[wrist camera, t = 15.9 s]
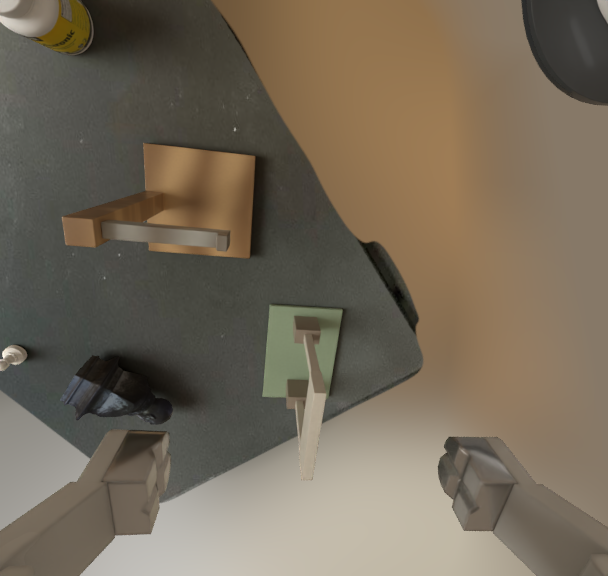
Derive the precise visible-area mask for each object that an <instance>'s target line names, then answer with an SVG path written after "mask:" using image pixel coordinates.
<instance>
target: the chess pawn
mask: <svg viewBox="0 0 608 576" xmlns="http://www.w3.org/2000/svg"><path fill="white" fill-rule="evenodd" d="M2 356H3V359H1V360H0V371H3V370H5V369H6V368H7V367H9V364H20V363H22V362H23V361H24V360H25V359H26V358H27V352H26V351H25V350H24V349H23V348H22V347H20V346H17V345H11V346H9V347H7V348H6V349H5V350H4V351H3V353H2Z"/></svg>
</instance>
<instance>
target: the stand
mask: <svg viewBox="0 0 608 576" xmlns="http://www.w3.org/2000/svg"><path fill="white" fill-rule="evenodd" d="M143 147H144V165H145V184H146V191H144V192H141V193H138V194H134V195H131V196H128V197H125V198H121V199H118V200H115V201H112V202H108V203H105V204H102V205H99V206H95V207H92V208H89V209H86V210H82V211H79V212H76V213H73V214H69V215H66V216H63V217H62V220H63V228H64V235H65V242H66V245H72V246H84V247H98V246H99V245H101V244H103V243H105V242H107V241H109V240H110V239H114V240H126V241H138V242H149V251H161V252H173V253H186V254H199V255H211V256H224V257H236V258H250V251H251V233H252V215H253V197H254V179H255V161H256V156H252V155H244V154H235V153H226V152H218V151H209V150H201V149H192V148H183V147H175V146H166V145H157V144H149V143H143ZM145 220H147V221H148V223H142V222H144V221H145Z"/></svg>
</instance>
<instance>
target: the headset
mask: <svg viewBox="0 0 608 576" xmlns="http://www.w3.org/2000/svg"><path fill="white" fill-rule="evenodd" d="M320 334H321V330H320V326H319V323H318V319H317V317H306V316H294V320H293V336H294V343H299V344H304V346H305V352H306V358H307V363H308V369H309V375H310V376H309V381H308V380H292V379H287V383H286V403H287V409H296V420H297V430H298V440H299V461H300V471H301V480H312V479H313V472H314V466H315V460H316V454H317V448H318V442H319V436H320V430H321V424H322V418H323V411H324V405H325V399H326V390H325V385H324V381H323V377H322V372H320V368H319V364H318V359H317V355H316V351H315V346H314V344H318V345H319V341H320ZM304 409H305V412H304Z"/></svg>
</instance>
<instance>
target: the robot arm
mask: <svg viewBox="0 0 608 576" xmlns="http://www.w3.org/2000/svg"><path fill="white" fill-rule="evenodd" d="M597 3H598V6H599V9H600V11H601V13H602V15H603V17H604V19H605V20H606V22H607V23H608V0H597ZM169 443H170V437H169V432H167V431H145V430H114V429H111V430H110V431H109V432H108V433H107V434H106V435H105V436H104V438H103V440H102V441H101V443H100V445H99V446H98V448H97V450H96V451H95V453H94V454H93V456H92V458H91V459H90V461H89V463H88V464H87V466H86V468H85V469H84V471H83V472H82V474H81V476H80V477H79V479H78V481H77V482H70V483H69V484H67V485H66V486H64V487H63V488H61V489H60V490H58V491H57V492H55V493H54V494H53V495H51V496H50V497H48V498H47V499H45V500H44V501H43V502H41V503H40V504H38V505H37V506H35V507H34V508H33V509H31V510H30V511H28V512H27V513H25V514H24V515H22V516H21V517H20V518H18V519H17V520H15V521H14V522H12V523H11V524H9V525H8V526H7V527H5V528H4V529H2V530H1V531H0V576H79V575H80V574H81V573H82V572H83V571H84V570H85V569H86V568H87V567H88V566H89V565H90V564H91V563H92V562H93V561H94V559H95V558H96V557H97V556H98V555H99V554H100V553H101V552H102V551H103V550H104V549H105V548H106V547H107V546H108V544H109V543H110V542H111V541H112V540H113V539H114V538H115V535H137V534H151V532H152V529H153V526H154V523H155V520H156V517H157V514H158V511H159V497H160V496H161V495H162V494H163V493H164V492H165V490H166V487H167V483H168V479H169V474H170V467H171V454H170V453H169V452H168V451H167V449H168V446H169ZM444 448H445V450H446V451H447V453H446V454H444V455H443V456H442V457H441V458H440V461H439V465H438V475H439V480H440V483H441V485H442V488H443V490H444V492H445V493H446V494H447V495H449V496H450V497H451V498H452V499H453V505H452V508H453V510H454V512H455V514H456V516H457V518H458V520H459V522H460V524H461V526H462V528H463V530H464V531H493V534H495V536H497V537H498V538H499V539H500V540H501V541H502V542H503V543H504V544H505V545H506V546H507V547H508V548H509V549H510V550H511V551H512V552H513V553H514V554H515V555H516V556H517V557H518V558H519V559H520V560H521V561H522V562H523V563H524V564H525V565H526V566H527V567H528V568H529V569H530V570H531V571H532V572H533V573H534V574H535V575H536V576H608V527H606V526H605V525H603V524H602V523H600V522H599V521H597V520H595V519H594V518H593V517H591V516H590V515H588V514H587V513H585V512H583V511H582V510H580V509H579V508H577V507H576V506H574V505H573V504H571V503H570V502H568V501H567V500H565V499H564V498H562V497H561V496H559V495H558V494H556V493H555V492H553V491H551V490H550V489H548V488H547V487H545V486H544V485H542V484H536V482H535V481H534V480H533V479H532V478H531V476H530V475H529V474H528V472H527V471H526V470H525V468H524V467H523V466H522V465H521V463H520V462H519V461H518V460H517V458H516V457H515V456H514V455H513V453H512V452H511V451H510V450H509V448H508V447H507V446H506V445H505V443H504V442H503V441H502V440H501V439H499V438H498V437H449V438H448V439H447V440H446V442H445V445H444Z"/></svg>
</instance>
